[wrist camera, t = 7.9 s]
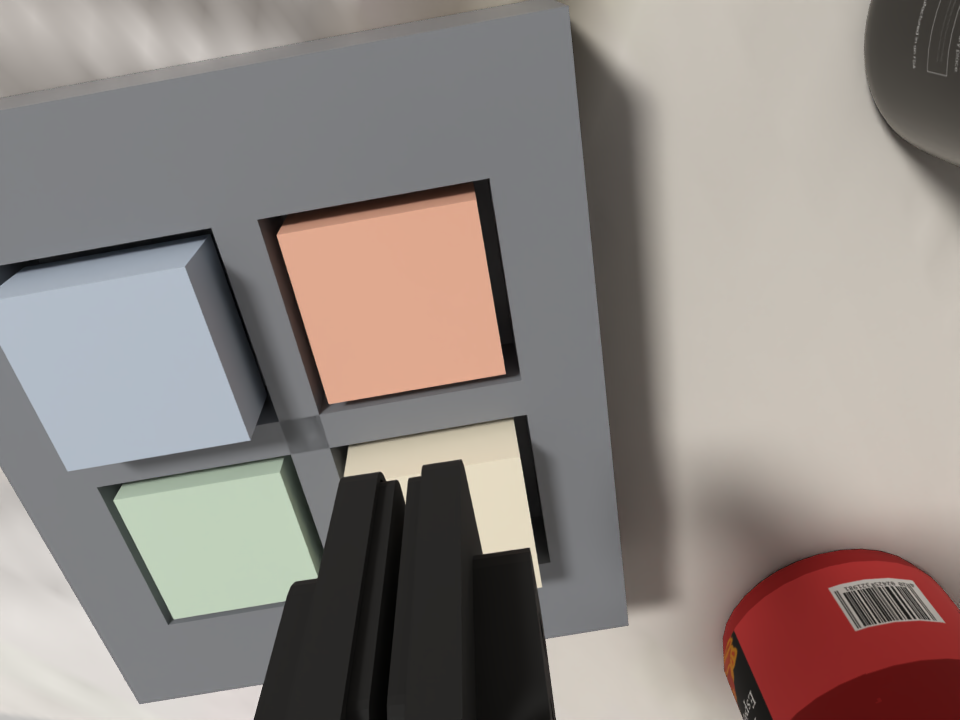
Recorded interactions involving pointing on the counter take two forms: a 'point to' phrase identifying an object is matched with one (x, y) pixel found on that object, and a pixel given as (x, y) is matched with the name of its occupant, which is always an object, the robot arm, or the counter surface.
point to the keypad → (273, 306)
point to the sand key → (487, 469)
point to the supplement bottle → (917, 71)
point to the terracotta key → (394, 292)
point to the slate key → (132, 352)
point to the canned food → (845, 642)
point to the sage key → (223, 534)
